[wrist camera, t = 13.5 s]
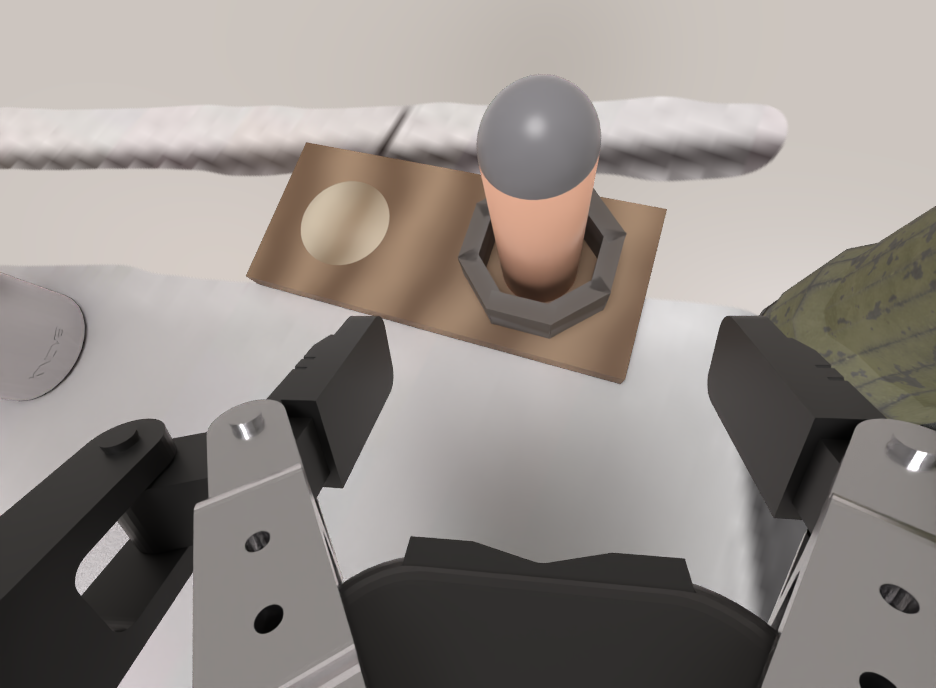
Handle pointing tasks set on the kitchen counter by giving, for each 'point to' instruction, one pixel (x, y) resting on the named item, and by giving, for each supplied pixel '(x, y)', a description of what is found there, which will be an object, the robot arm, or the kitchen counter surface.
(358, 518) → the kitchen counter surface
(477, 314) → the jig
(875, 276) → the thermos
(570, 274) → the round-topped orange cylinder
